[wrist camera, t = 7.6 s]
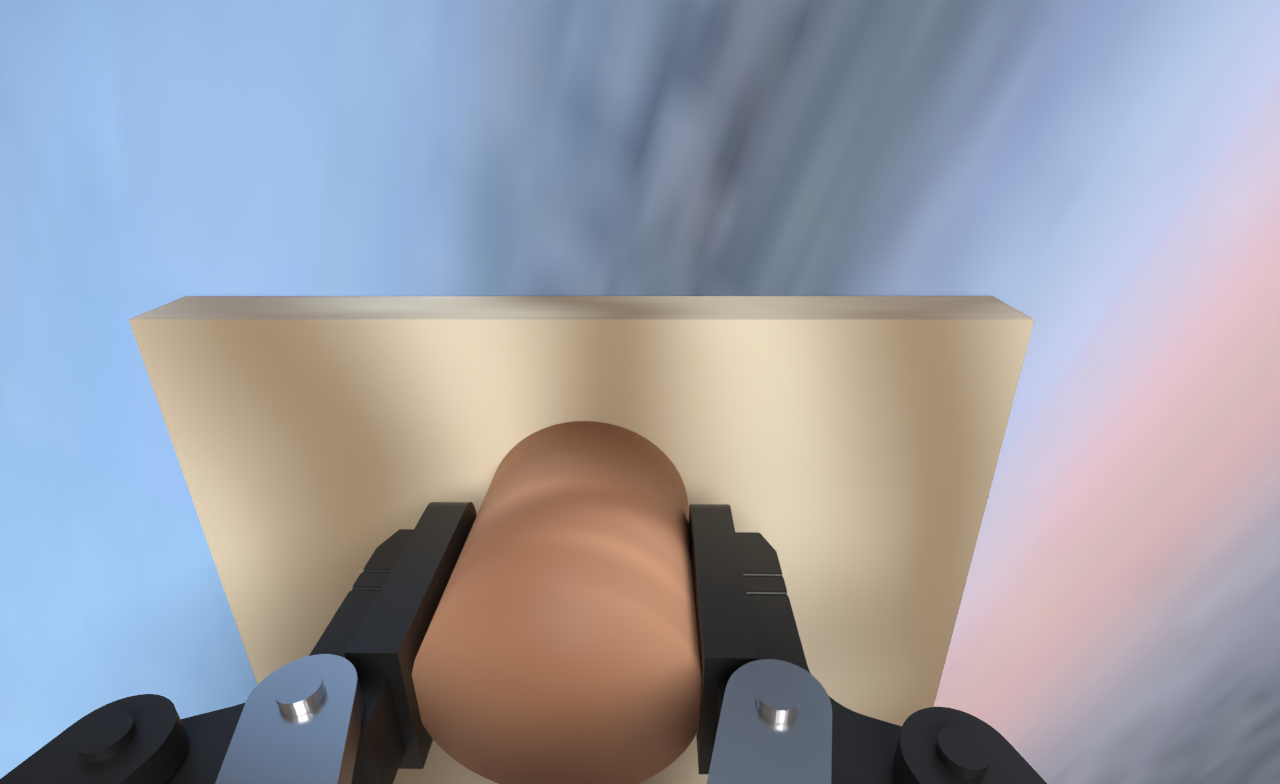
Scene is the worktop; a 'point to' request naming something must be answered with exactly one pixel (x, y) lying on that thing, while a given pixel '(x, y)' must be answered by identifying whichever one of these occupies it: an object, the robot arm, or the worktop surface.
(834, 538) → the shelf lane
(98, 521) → the worktop surface
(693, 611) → the wooden joystick
